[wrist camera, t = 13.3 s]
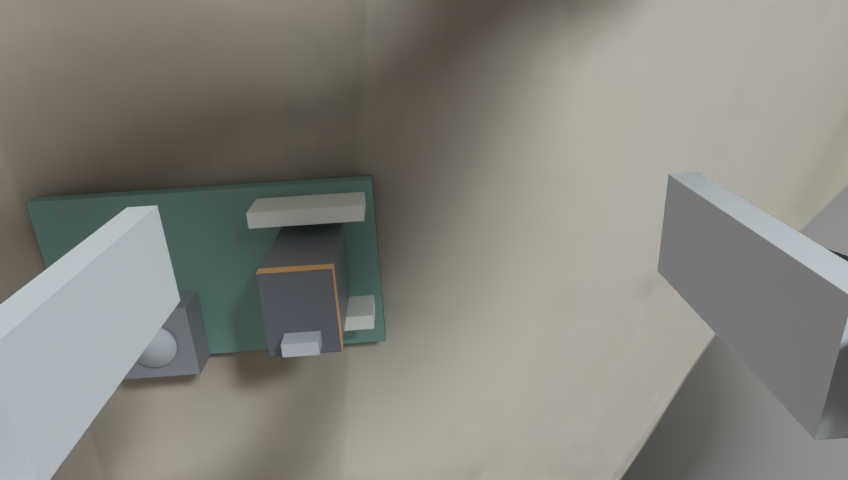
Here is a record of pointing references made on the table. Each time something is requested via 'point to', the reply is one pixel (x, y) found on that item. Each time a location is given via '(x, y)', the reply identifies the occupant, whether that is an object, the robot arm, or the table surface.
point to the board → (227, 257)
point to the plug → (305, 290)
